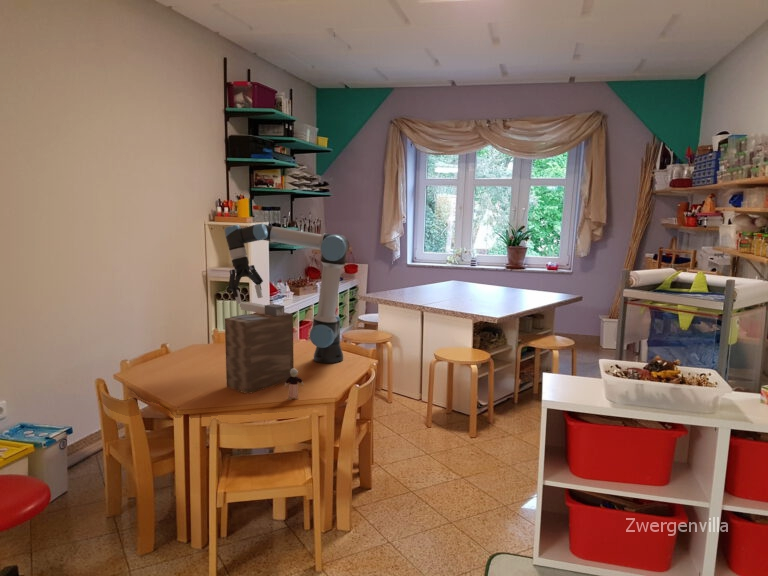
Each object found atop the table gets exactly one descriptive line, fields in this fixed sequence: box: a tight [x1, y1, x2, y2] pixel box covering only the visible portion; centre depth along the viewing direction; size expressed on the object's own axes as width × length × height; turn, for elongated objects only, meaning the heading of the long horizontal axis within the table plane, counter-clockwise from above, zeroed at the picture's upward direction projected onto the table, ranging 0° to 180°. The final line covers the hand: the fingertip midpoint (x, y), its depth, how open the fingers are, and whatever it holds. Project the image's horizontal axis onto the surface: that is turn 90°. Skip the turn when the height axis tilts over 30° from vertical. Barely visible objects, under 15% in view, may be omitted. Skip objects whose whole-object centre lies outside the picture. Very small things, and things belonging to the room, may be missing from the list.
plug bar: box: [239, 301, 285, 316], centre depth 250 cm, size 26×5×4 cm, turn 53°
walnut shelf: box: [224, 311, 295, 395], centre depth 244 cm, size 14×26×30 cm, turn 143°
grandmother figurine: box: [284, 367, 304, 401], centre depth 226 cm, size 8×4×13 cm, turn 114°
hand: (250, 300), depth 269 cm, fingers open, 13 cm apart
